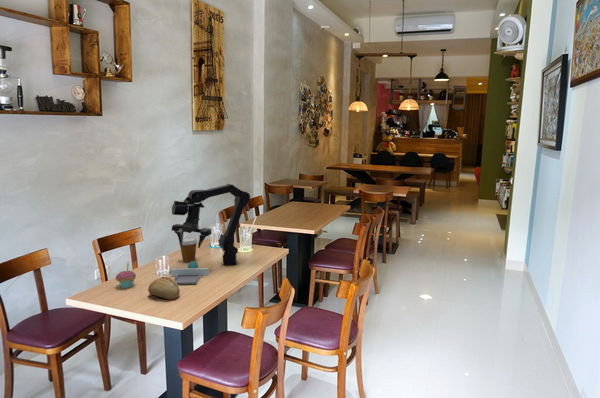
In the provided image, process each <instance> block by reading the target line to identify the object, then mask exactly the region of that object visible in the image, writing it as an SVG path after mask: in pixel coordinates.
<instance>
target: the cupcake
mask: <svg viewBox="0 0 600 398" xmlns="http://www.w3.org/2000/svg"><path fill="white" fill-rule="evenodd" d="M129 264H130V263H129V262H127V263H126V270H122V271H120V272H118V273H117V274H116V275H115V280H116V281H117V282H119V285H120V287H121V289H122V288H123V289H128V288H131V287H133V284H134V281H135V279H136V276H137V275H136V273H135V272H134V271H133V270H129V268H130V267H129V266H130V265H129Z"/></svg>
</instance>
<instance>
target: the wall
mask: <svg viewBox="0 0 600 398" xmlns="http://www.w3.org/2000/svg"><path fill="white" fill-rule="evenodd" d="M195 274H201V277H202V276H203V277H204V276H205V277H210V268H209V267H198V268H188V267H186V268H171V269H170V275H171V277H176V276H177V275H195Z"/></svg>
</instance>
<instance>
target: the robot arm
mask: <svg viewBox="0 0 600 398" xmlns="http://www.w3.org/2000/svg"><path fill="white" fill-rule="evenodd" d="M224 194H231V195H232V196H234V207H233V210H232V213H231V215H230V219H229V221H228V225H227V228H226V230H225V232H224V234H222V233H221V234H220V235H219V239H218V246H219V248H220V249H222V251H223V253H222V264H223V266H236V265H237V263H238V259H237V254H238V251H239V249H238V248H237V247H236V246H235V233H236V231H237V228H238V225H239V222H240V219H241V216H242V214H243V211H244V209H245V207H247V205H248V204H249V202H250V199H251V195H250V193H249V192H248V191H244V190H241V189H240V188H238V187H236V186H235V185H234V184H233V183H231V184H230V183H227V184H224V185H220V186H216V187H211V188H208V189H192V190H190V191H189V192H188V195H187V197H185V198H184V200H183V201H178V200H174V201H173V204H172V206H171V214H172V215H173V216H186V218H185V221H184V222H183V224H180V223H175V224H173V225H172V227H171V231H172V232H174V233H175V234H176V235H177V238H178V243H179V242H180V244H179V246H180V245H182V242H183V238H184V233H188V234H191V233H199V234H200V235H199V240H198V245H197V248H198V249H200V248H201V246H202V244H203V241H204V240H205V239H206V237H208V236H210V235H212V229H211V228H208V227H203V228H199V221H200V219H201V218H200V212H201V208H205V205H204V204H203V202H204V201H205V200H207V199H209V198H212V197H216V196H220V195H224Z"/></svg>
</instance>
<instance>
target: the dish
mask: <svg viewBox="0 0 600 398" xmlns="http://www.w3.org/2000/svg"><path fill="white" fill-rule="evenodd" d="M201 278H202V276H201V274H195V275H177V276H175V278H173V279H174V280H175V281H176V282H177V284H178V286H197V284H198V282H200V281H199V280H200V279H201Z"/></svg>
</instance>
